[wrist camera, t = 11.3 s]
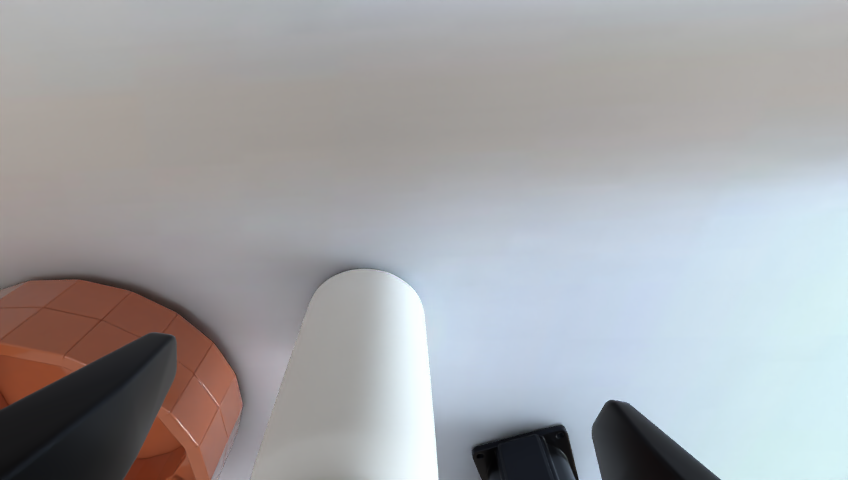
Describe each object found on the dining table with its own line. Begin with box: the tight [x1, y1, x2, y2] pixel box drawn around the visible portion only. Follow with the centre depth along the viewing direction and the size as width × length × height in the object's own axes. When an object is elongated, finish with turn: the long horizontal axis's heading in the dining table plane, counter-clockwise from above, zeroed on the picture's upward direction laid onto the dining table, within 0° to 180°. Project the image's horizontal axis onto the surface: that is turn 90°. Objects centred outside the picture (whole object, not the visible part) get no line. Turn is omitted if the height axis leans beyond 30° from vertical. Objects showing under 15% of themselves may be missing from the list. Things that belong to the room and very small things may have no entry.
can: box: [250, 269, 438, 480], centre depth 18 cm, size 6×6×12 cm
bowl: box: [0, 279, 243, 480], centre depth 23 cm, size 15×15×6 cm
